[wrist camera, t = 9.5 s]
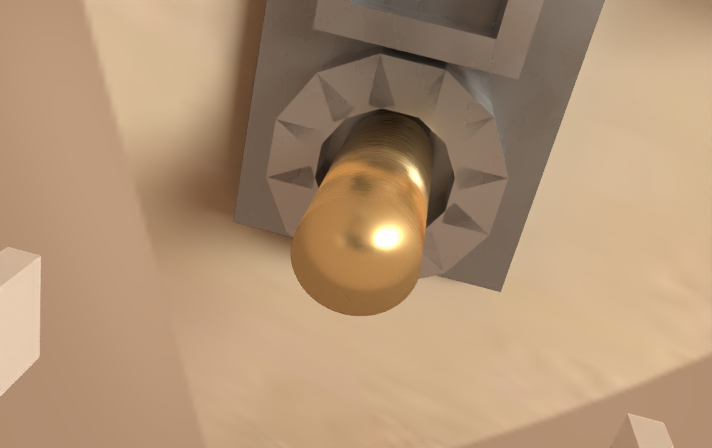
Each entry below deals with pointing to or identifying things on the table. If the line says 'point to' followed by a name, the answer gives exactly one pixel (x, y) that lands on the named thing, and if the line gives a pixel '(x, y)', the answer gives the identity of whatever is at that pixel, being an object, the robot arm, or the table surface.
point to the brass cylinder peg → (367, 219)
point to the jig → (417, 110)
